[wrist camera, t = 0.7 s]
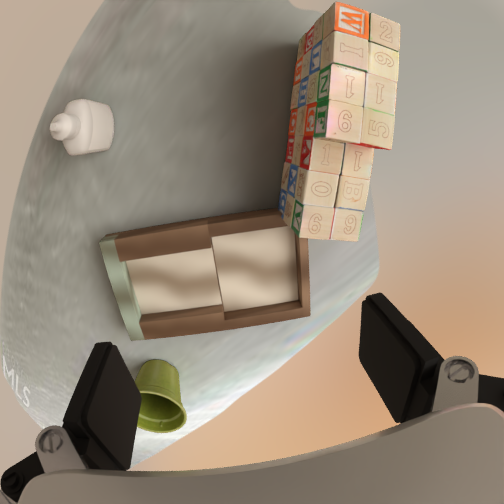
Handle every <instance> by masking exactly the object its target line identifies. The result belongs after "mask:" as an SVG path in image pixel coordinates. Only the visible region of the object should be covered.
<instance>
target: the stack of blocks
mask: <svg viewBox="0 0 504 504" xmlns="http://www.w3.org/2000/svg"><path fill="white" fill-rule="evenodd" d="M399 50H400V24H398V23H396V22H393V21H391V20H389V19H386V18H383V17H381V16H379V15H377V14H374V13H369V12H367V11H365V10H363V9H359V8H357V7H353V6H350V5H347V4H343V3H340V2H335V3H333V5H332V6H331V7H330V8H329V9H328V10H327V11H326V12H325V13H324V14H323V15H322V16H321V17H320V18H319V19H318V20H317V21H316V22H315V24H314V25H313V26H312V27H311V29H310V30H309V31H308V32H307V33H305V34H304V36H303V37H302V38H301V39H300V41H299V47H298V55H297V62H296V66H295V75H294V84H293V91H292V99H291V108H290V109H291V115H290V124H289V132H288V136H289V137H288V144H287V152H286V161H285V162H284V167H283V174H282V182H281V192H280V199H279V207H278V210H279V211H280V212H281V213H282V216H281V218H282V219H283V220H284V222H285V223H286V224H287V225H288V227H289V228H291V229H292V230H293V231H294V232H295V233H296V235H297V236H298V237H300V238H312V239H324V240H329V239H332V240H341V241H353V242H358V240H359V235H360V230H361V225H362V220H363V211H364V210H365V206H366V200H367V194H368V188H369V180H370V177H371V170H372V162H373V155H374V151H373V148H376V149H387V150H391V148H392V140H393V131H394V121H395V116H394V113H395V105H396V91H397V82H398V67H399V53H398V52H399Z"/></svg>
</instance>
